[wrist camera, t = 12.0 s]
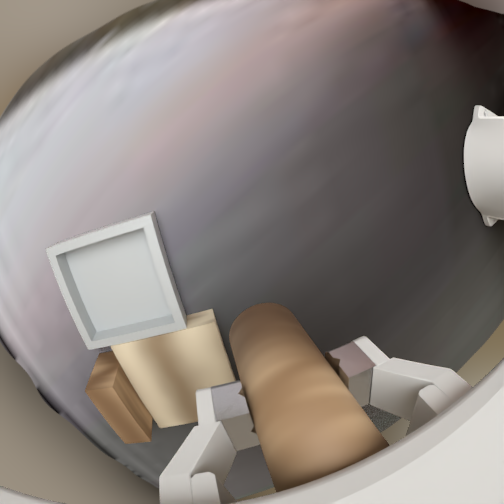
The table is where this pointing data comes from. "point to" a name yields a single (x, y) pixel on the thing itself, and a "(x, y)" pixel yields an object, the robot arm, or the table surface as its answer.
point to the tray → (118, 282)
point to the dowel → (297, 400)
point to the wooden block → (118, 400)
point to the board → (176, 368)
